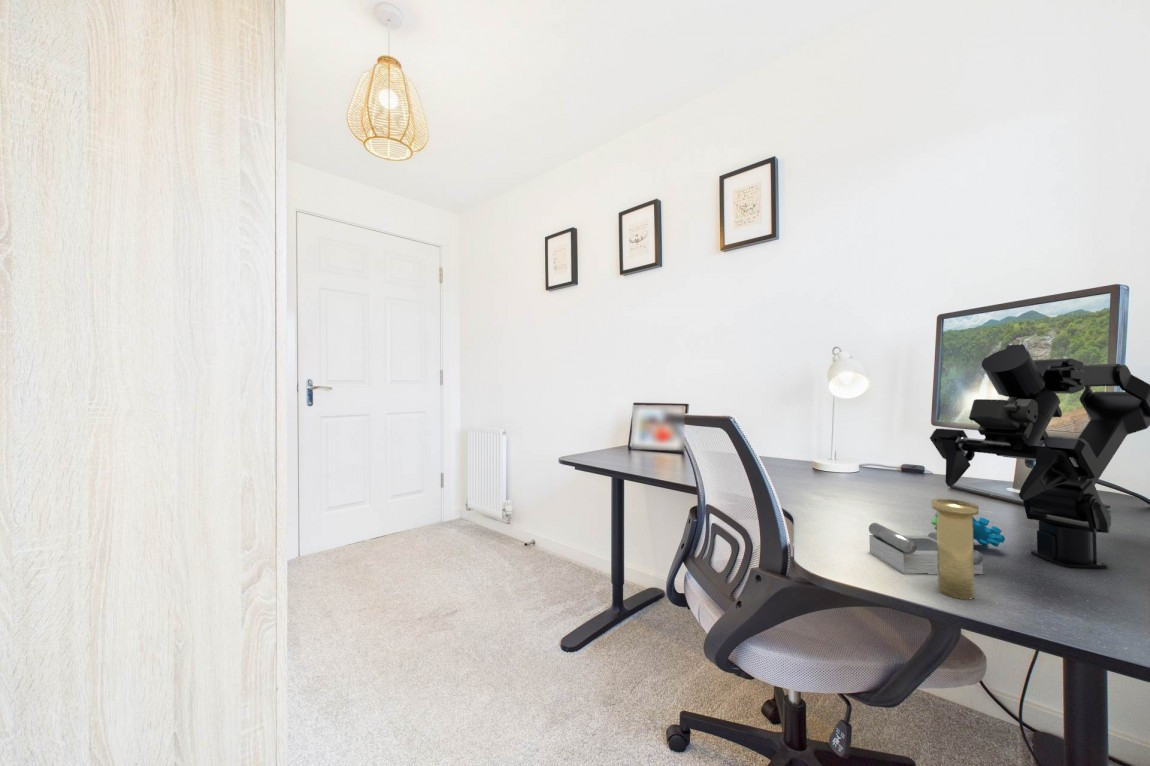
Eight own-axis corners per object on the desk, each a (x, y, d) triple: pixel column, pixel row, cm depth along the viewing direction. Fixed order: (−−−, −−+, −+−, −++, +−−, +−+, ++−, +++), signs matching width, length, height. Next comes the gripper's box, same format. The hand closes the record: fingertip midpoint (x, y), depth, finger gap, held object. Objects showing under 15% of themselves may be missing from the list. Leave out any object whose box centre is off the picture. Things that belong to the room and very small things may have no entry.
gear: (1020, 545, 79) (982, 507, 78) (1006, 572, 77) (968, 534, 76) (954, 534, 89) (921, 500, 89) (941, 558, 88) (907, 524, 87)
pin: (960, 585, 67) (958, 498, 67) (990, 602, 62) (988, 507, 62) (923, 584, 67) (922, 498, 67) (951, 601, 62) (949, 507, 62)
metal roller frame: (940, 553, 79) (939, 523, 79) (983, 575, 70) (982, 540, 70) (869, 552, 80) (868, 522, 80) (903, 573, 71) (902, 539, 71)
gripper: (936, 382, 79) (893, 447, 74) (1088, 380, 61) (1043, 464, 57) (964, 426, 81) (924, 491, 77) (1117, 436, 64) (1076, 521, 60)
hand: (982, 491), depth 68 cm, fingers open, 9 cm apart
